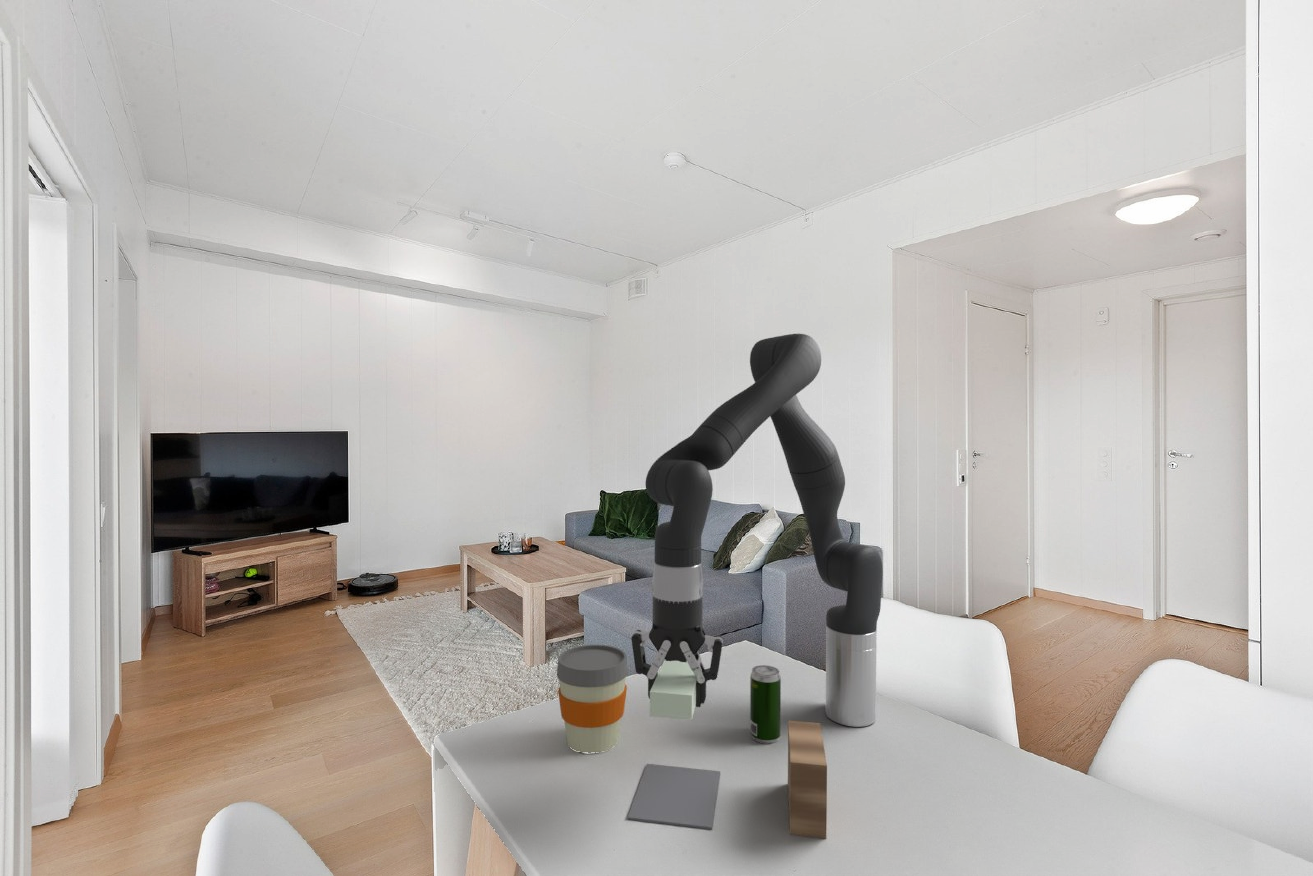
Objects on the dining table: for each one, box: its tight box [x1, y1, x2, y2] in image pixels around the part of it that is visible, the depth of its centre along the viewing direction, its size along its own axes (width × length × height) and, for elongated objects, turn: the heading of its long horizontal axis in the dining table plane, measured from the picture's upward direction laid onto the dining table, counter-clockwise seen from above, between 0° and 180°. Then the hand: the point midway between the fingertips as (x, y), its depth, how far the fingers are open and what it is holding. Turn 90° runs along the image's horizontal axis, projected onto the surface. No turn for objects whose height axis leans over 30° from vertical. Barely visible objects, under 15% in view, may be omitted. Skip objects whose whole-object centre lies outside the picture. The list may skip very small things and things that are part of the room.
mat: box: [627, 763, 721, 830], centre depth 94 cm, size 14×12×1 cm
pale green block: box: [649, 659, 697, 721], centre depth 93 cm, size 12×6×4 cm, turn 169°
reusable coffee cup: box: [556, 644, 629, 753], centre depth 109 cm, size 13×13×15 cm
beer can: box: [749, 664, 782, 745], centre depth 111 cm, size 5×5×12 cm
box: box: [787, 720, 828, 839], centre depth 90 cm, size 12×5×10 cm, turn 170°
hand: (676, 702), depth 93 cm, fingers closed on pale green block, 6 cm apart
